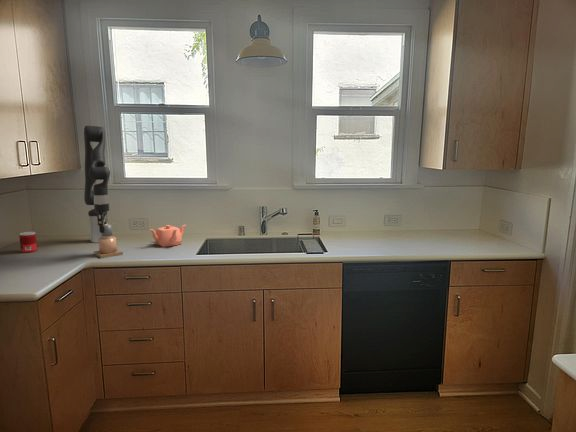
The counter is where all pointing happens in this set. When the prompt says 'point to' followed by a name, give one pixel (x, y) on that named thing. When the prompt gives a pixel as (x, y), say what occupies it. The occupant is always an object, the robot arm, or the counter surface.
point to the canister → (107, 247)
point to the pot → (168, 235)
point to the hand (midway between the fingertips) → (103, 231)
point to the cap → (107, 230)
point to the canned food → (28, 242)
